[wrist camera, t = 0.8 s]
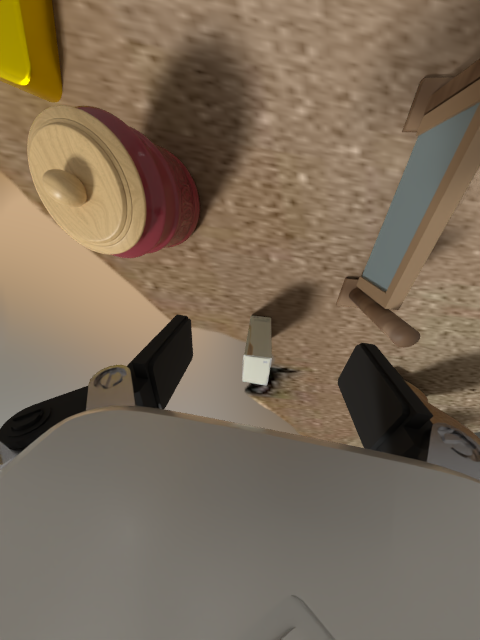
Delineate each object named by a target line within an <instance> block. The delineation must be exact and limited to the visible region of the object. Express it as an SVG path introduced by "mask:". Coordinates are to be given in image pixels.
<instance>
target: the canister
mask: <svg viewBox="0 0 480 640" xmlns="http://www.w3.org/2000/svg"><path fill="white" fill-rule="evenodd" d="M27 154H28V163H29V168H30V172H31V176H32V179H33V182H34V185H35V187H36V190H37V192H38V194H39V196H40V198H41V200H42V202H43V204H44V205H45V207H46V209H47V210H48V212H49V213H50V215H51V216H52V217H53V219H54V220H55V221H56V222H57V224H58V225H59V226H60V227H61V228H62V229H63V230H64V231H65V232H66V233H67V234H68V235H69V236H70V237H72V238H73V239H74V240H75V241H77V242H78V243H80V244H81V245H83V246H85V247H86V248H88V249H90V250H93V251H96V252H99V253H103V254H110V255H113V256H117V257H121V258H135V257H140V256H142V255H145V254H147V253H153V252H156V251H159V250H161V249H162V248H165V247H173V246H176V245H179V244H181V243H183V242H184V241H186V240H187V239H188V238H189V237H190V236H191V235H192V233H193V232H194V230H195V229H196V227H197V224H198V221H199V217H200V198H199V193H198V190H197V187H196V184H195V182H194V180H193V178H192V176H191V174H190V173H189V171H188V170H187V168H186V167H185V166H184V164H183V163H182V162H181V161H180V160H179V159H178V158H177V157H176V156H175V155H173V154H172V153H171V152H169V151H168V150H166V149H164V148H162V147H160V146H157V145H155V144H154V143H152V142H151V141H150V140H149V139H148V138H147V137H146V136H144V135H143V134H142V133H140V132H139V131H137V130H136V129H134V128H132V127H129V126H128V125H126V124H125V123H124V122H123V121H122V120H120V119H119V118H117V117H116V116H114V115H113V114H111V113H109V112H107V111H105V110H102V109H99V108H96V107H90V106H78V107H71V106H53V107H50V108H48V109H46V110H44V111H43V112H41V113H40V114H39V115H38V116H37V117H36V119H35V120H34V122H33V124H32V126H31V129H30V132H29V136H28V144H27Z"/></svg>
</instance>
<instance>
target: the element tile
mask: <svg viewBox="0 0 480 640" xmlns="http://www.w3.org/2000/svg"><path fill="white" fill-rule="evenodd" d="M0 81H2V82H5V83H7V84H9V85H12V86H14V87H16V88H19V89H21V90H23V91H26V92H28V93H30V94H33V95H35V96H37V97H40V98H42V99H44V100H47V101H49V102H58V101H59V100H60V99H61V96H62V80H61V71H60V63H59V55H58V47H57V38H56V30H55V22H54V14H53V6H52V0H0Z"/></svg>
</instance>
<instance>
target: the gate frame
mask: <svg viewBox="0 0 480 640" xmlns="http://www.w3.org/2000/svg"><path fill="white" fill-rule="evenodd" d="M479 79H480V59H479V60H477V61H476V62H475V63H473V64H472V65H471V66H469V67H468V68H467V69H465V70H464V71H463V72H461V73H460V74H459V75H457V76H456V77H433V78H424V79H423V80H421V82H420V84H419V87H418V90H417V93H416V95H415V98H414V101H413V103H412V106H411V109H410V112H409V114H408V117H407V120H406V123H405V125H404V128H403V131H402V132H418V129H419V127H420V124H421V122H422V119H423V117H424V116H425V115H426V114H428V113H429V112H431V111H432V110H434V109H435V108H437V107H438V106H440V105H441V104H443V103H444V102H446V101H447V100H449V99H450V98H452V97H453V96H455V95H457V94H458V93H460V92H461V91H463V90H464V89H466V88H467V87H469V86H470V85H472V84H473V83H475V82H476V81H478V80H479ZM358 280H359V279H351V278H345V280H344V283H343V286H342V289H341V292H340V294H339V297H338V300H337V303H336V305H337V306H346V307H355V308H360V309H361V310H362V311H363V312H364V313H365V314H366V315H367V316H368V317H369V318H370V319H371V320H372V321H373V322H374V323H375V324H376V325H377V326H378V327H379V328H380V329H381V330H382V332H383V333H384V334H385V335H386V336H387V337H388V338H389V339H390V340H391V341H392V342H393V343H394V344H395V345H396V346H398V347H410V346H412V345H414V344H416V343H417V342H418V341H419V339H420V333H419V332H418V331H416V330H415V329H414V328H412V327H411V326H410V325H409V324H407V323H406V322H405V321H403V320H402V319H401V318H399V317H398V316H397V315H396V314H394V313H393V312H392V311H390V310H389V309H385V308H384V307H382V306H381V305H380V304H378V303H377V302H376V301H375V300H373V299H372V298H371V297H370V296H368V295H367V294H366V293H365V292H363V291H362V290H361V289H359V288H358V287H357V286H356V285H357V282H358Z"/></svg>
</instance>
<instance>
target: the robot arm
mask: <svg viewBox="0 0 480 640" xmlns="http://www.w3.org/2000/svg"><path fill="white" fill-rule="evenodd" d="M192 357H193V348H192V332H191V320H190V319H188V317H187V316H183V315H176V316H175V317H174V318H173V319H172V320H171V321H170V322H169V323H168V324H167V326H166V327H165V328H164V329H163V330H162V331H161V332H160V333H159V334H158V335H157V336H156V337H154V339H153V340H152V341H151V342H150V343H149V344H148V345H147V346H146V347H145V348H144V349H143V350H142V351H141V352H140V353H139V354H138V355H137V356H136V357H135V358H134V359H133V360H132V361H131V362H130V363H129V364H128V366H124V365H114V366H109V367H107V368H104V369H102V370H100V371H99V372H97V373H96V374H95V375H94V376H93V377H92V378H91V379H90V382H89V385H88V386H86V387H83V388H81V389H78V390H75V391H72V392H69V393H66V394H63V395H61V396H58V397H55V398H52V399H49V400H46V401H43V402H41V403H38V404H35V405H32V406H30V407H28V408H25V409H23V410H22V411H20V412H18V413H17V414H15V415H14V416H13V417H11V418H10V419H9V420H8V421H7V422H6V423H5V424H4V425H3V426H2V427H1V429H0V640H480V445H479V444H478V443H477V442H476V441H474V440H473V439H472V438H471V437H469V436H468V435H467V434H465V433H464V432H462V431H460V430H459V429H457V428H455V427H453V426H451V425H448V424H445V423H439V422H437V423H434V424H433V423H432V422H431V421H430V419H431V418H432V417H433V414H432V413H431V412H430V411H429V410H428V408H427V407H426V406H425V405H424V403H423V402H422V401H421V400H420V399H419V397H418V396H417V395H416V394H415V393H414V391H413V390H412V389H411V388H410V387H409V385H408V384H407V383H406V382H405V381H404V379H403V378H402V377H401V376H400V374H399V373H398V372H397V371H396V370H395V368H394V367H393V366H392V365H391V364H390V362H389V361H388V360H387V359H386V358H385V356H384V355H383V354H382V353H381V352H380V350H379V349H378V348H377V347H376V346H375V345H373V344H367V343H361V344H359V345H357V346H356V347H355V349H354V351H353V352H352V354H351V356H350V358H349V360H348V362H347V364H346V366H345V367H344V369H343V371H342V373H341V375H340V377H339V379H338V386H339V388H340V391H341V393H342V396H343V398H344V400H345V403H346V405H347V408H348V410H349V413H350V415H351V418H352V420H353V422H354V425H355V427H356V430H357V432H358V435H359V437H360V440H361V442H362V444H363V447H364V448H360V447H355V446H350V445H345V444H340V443H335V442H330V441H326V440H321V439H316V438H311V437H306V436H301V435H295V434H290V433H285V432H280V431H275V430H270V429H265V428H260V427H255V426H250V425H245V424H239V423H234V422H229V421H224V420H219V419H213V418H208V417H203V416H197V415H193V414H187V413H181V412H175V411H170V410H164V408H165V407H166V405H167V404H168V402H169V400H170V398H171V396H172V394H173V393H174V391H175V389H176V387H177V385H178V384H179V382H180V380H181V378H182V376H183V374H184V373H185V371H186V369H187V367H188V365H189V364H190V362H191V360H192Z"/></svg>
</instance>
